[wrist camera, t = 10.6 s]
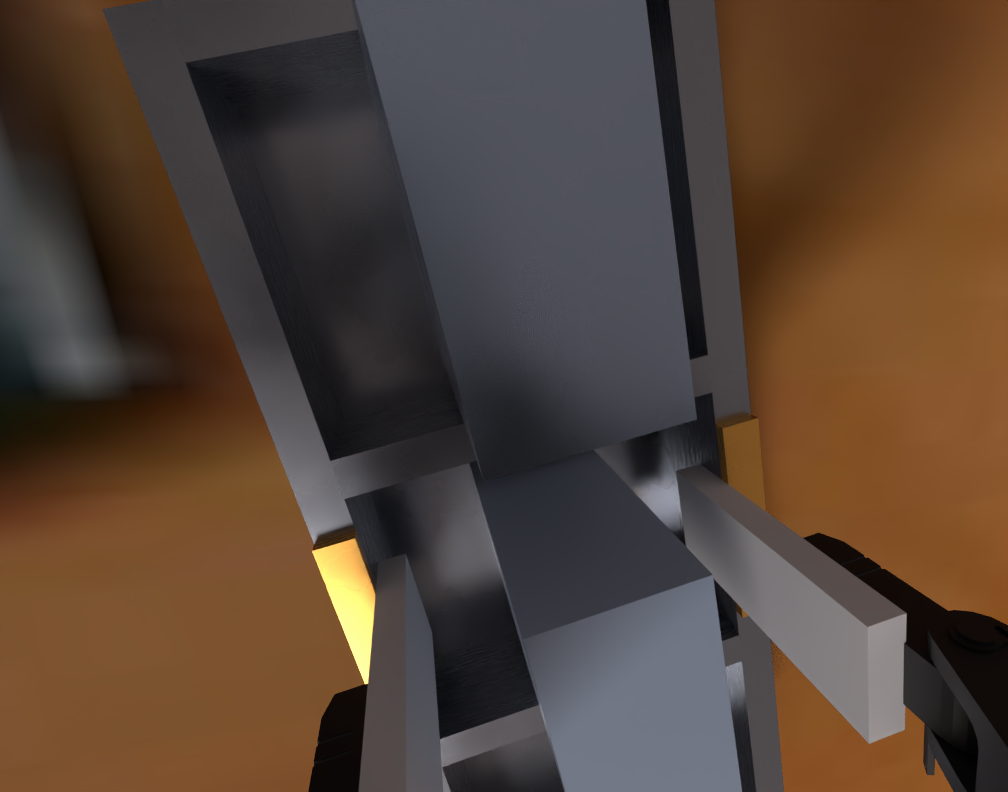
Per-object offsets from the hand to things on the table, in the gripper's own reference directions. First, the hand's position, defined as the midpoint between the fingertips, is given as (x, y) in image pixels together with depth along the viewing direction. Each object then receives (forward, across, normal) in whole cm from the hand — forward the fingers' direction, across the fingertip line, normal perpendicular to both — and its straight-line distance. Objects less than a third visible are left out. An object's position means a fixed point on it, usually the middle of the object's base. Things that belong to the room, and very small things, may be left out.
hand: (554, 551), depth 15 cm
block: (+2, 0, 0) cm, 2 cm away
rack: (+3, 0, 0) cm, 3 cm away
